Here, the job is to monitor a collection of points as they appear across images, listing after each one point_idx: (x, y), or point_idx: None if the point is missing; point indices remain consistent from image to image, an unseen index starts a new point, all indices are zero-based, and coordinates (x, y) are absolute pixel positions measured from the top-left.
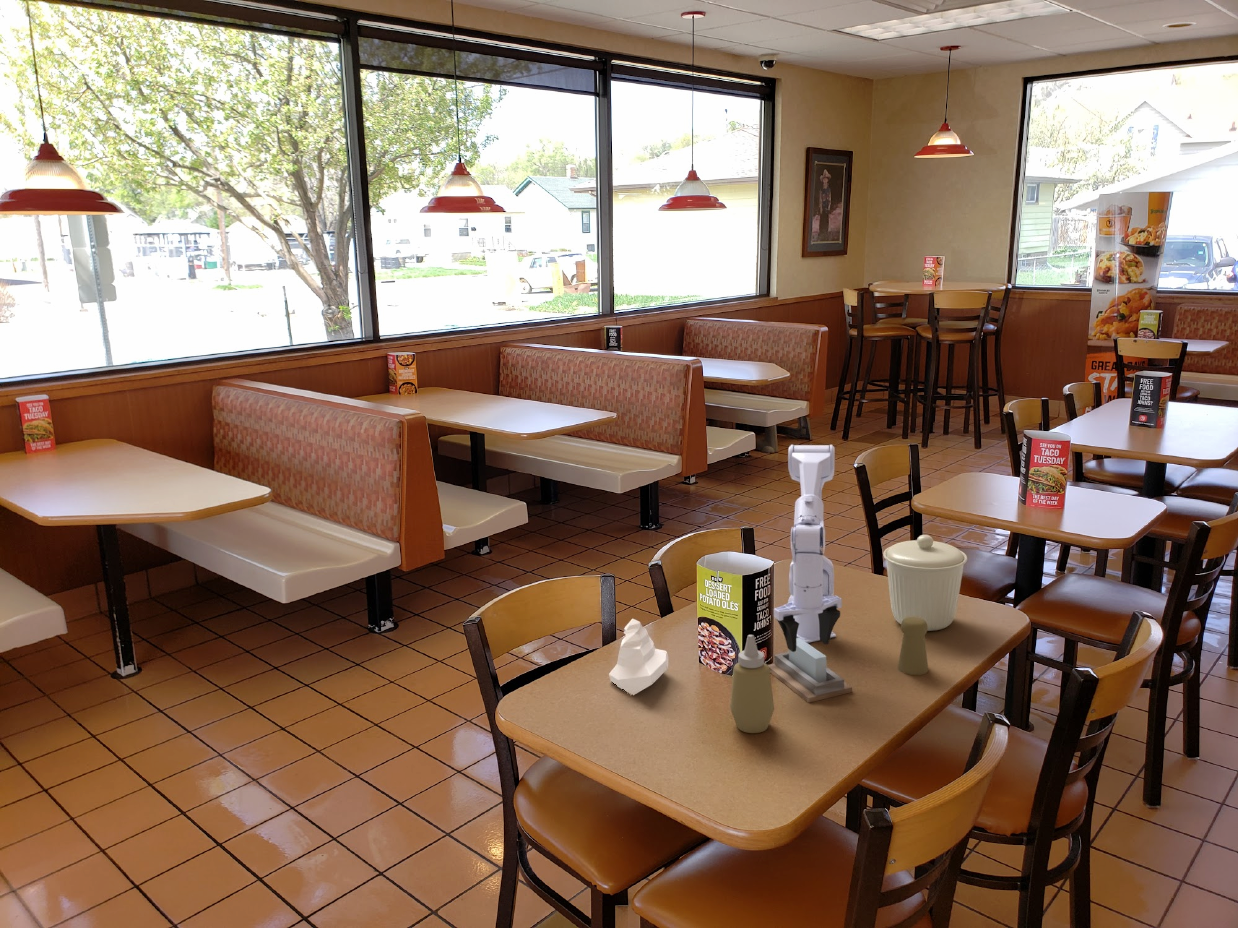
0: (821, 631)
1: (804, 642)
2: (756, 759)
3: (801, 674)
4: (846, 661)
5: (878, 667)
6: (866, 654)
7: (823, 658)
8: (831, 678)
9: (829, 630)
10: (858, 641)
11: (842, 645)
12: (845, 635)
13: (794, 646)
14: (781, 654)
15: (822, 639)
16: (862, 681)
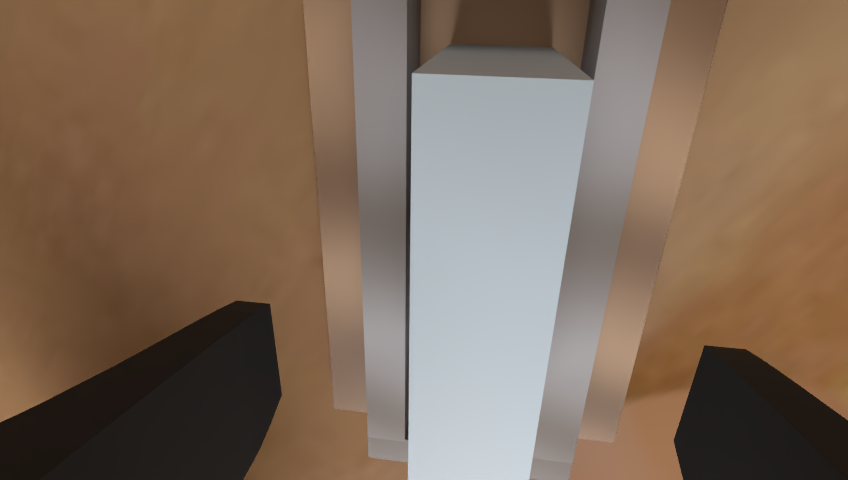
0: (217, 477)
1: (423, 453)
2: None
3: (626, 168)
4: (156, 280)
5: (4, 131)
6: (25, 287)
7: (462, 71)
8: (412, 15)
9: (100, 408)
10: (23, 402)
11: None
12: None
13: (792, 388)
14: None
15: (263, 380)
16: (167, 12)
